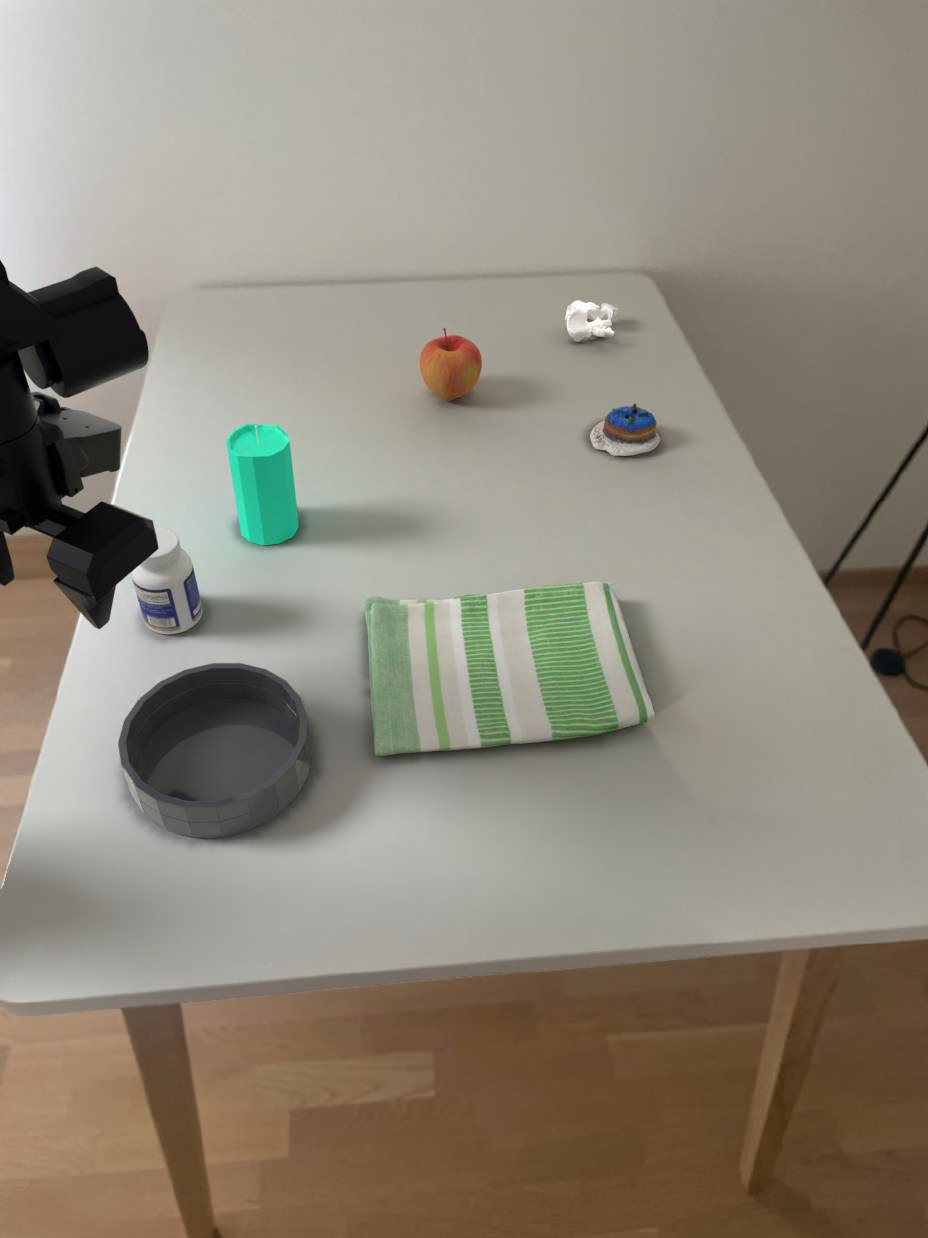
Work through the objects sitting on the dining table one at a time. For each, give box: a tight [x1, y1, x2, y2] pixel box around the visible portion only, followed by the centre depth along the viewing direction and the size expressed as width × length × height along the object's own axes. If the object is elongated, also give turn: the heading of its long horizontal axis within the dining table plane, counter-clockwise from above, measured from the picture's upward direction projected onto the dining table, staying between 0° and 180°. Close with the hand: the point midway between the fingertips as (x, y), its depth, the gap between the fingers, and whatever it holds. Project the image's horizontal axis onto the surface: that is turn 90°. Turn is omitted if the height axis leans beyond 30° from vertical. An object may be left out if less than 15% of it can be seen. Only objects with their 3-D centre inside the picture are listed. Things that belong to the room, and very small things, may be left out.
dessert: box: [589, 402, 661, 457], centre depth 112 cm, size 8×7×6 cm
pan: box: [117, 662, 313, 839], centre depth 77 cm, size 14×14×4 cm
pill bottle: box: [130, 527, 203, 635], centre depth 87 cm, size 5×5×9 cm
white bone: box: [564, 300, 620, 343], centre depth 129 cm, size 8×4×7 cm
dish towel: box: [363, 581, 656, 757], centre depth 85 cm, size 18×23×3 cm
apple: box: [419, 327, 483, 402], centre depth 115 cm, size 7×7×8 cm
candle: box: [225, 423, 300, 546], centre depth 95 cm, size 6×6×12 cm
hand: (54, 602), depth 72 cm, fingers open, 9 cm apart
